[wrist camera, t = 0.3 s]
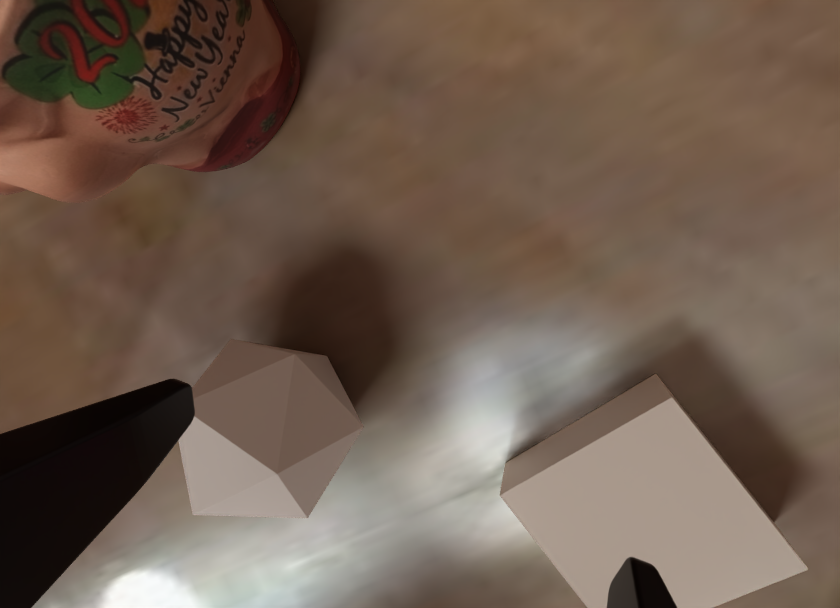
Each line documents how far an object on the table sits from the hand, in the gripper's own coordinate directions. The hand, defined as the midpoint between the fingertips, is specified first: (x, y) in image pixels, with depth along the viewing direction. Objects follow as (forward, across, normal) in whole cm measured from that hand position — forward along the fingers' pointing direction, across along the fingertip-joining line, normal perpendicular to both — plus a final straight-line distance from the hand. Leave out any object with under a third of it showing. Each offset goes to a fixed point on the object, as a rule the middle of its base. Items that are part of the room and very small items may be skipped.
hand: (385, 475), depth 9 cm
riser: (+13, -10, +11) cm, 19 cm away
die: (+13, +9, +12) cm, 20 cm away
